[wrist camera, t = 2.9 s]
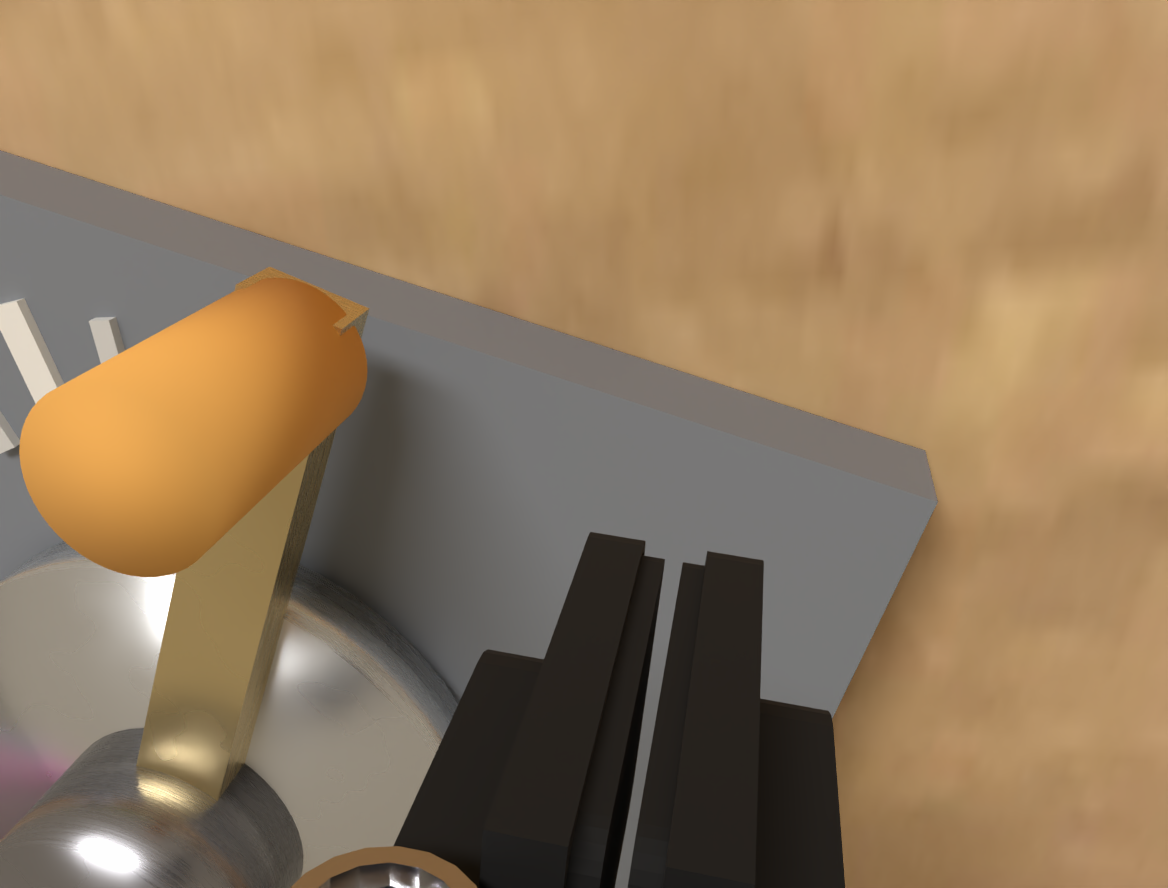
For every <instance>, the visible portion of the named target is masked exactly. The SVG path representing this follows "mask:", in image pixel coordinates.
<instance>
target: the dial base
mask: <svg viewBox="0 0 1168 888" xmlns="http://www.w3.org/2000/svg"><path fill="white" fill-rule="evenodd" d="M268 267H272V268H274V269H277V270H279V271H281V272H284V273H286V274H289V275H291V276H293V277H296V278H298V279H300V280H303V281H305V282H308V283H310V284H312V285H315V286H317V287H320V288H322V289H324V290H327V291H329V292H331V293H334V294H336V295H339V296H341V297H343V298H346V299H348V300H351V301H353V302H355V303H358V304H360V305H362V306H365V307H367V308H369V312H368V316H367V319H366V323H365V326H364V330H363V334H362V337H361V340H362V343H363V346H364V349H365V354H366V359H367V381H366V386H365V390H364V393H363V396H362V399H361V400H360V402H359V404H358V406H357V407H356V409H355V410H354V411H353V412H352V414H351V415H350V416H349V417H347V418H346V419H345V420H344V421H343V422H342V423H341V424H340V425H339V426H338V427H337V429H336V432H335V436H334V439H333V443H332V447H331V450H330V454H329V458H328V461H327V465H326V469H325V472H324V476H323V480H322V483H321V487H320V490H319V494H318V498H317V501H316V505H315V509H314V512H313V516H312V520H311V523H310V527H309V531H308V534H307V538H306V541H305V545H304V549H303V552H302V556H301V560H300V563H299V564H300V565H302V566H304V567H306V568H308V569H310V570H312V571H314V572H316V573H318V574H320V575H322V576H323V577H325V578H326V579H328V580H330V581H331V582H333V583H334V584H336V585H338V586H339V587H341V588H342V589H344V590H346V591H347V592H349V593H350V594H352V595H354V596H355V597H357V598H358V599H359V600H360V601H362V602H363V603H364V604H366V605H367V606H368V607H369V608H371V609H372V610H373V611H375V612H376V613H377V614H378V615H380V616H381V617H382V618H384V619H385V620H386V621H387V622H389V623H390V624H391V625H392V626H393V627H394V628H395V629H396V630H397V631H398V632H399V633H400V634H401V635H402V636H403V637H404V638H405V639H406V640H408V641H409V642H410V643H411V644H412V645H413V646H414V647H415V648H416V649H417V650H418V651H419V652H420V653H421V655H422V656H423V657H424V658H425V659H426V661H427V662H428V663H429V664H430V665H431V667H432V668H433V669H434V670H435V671H436V673H437V674H438V675H439V676H440V677H441V679H442V680H443V681H444V682H445V684H446V685H447V687H448V688H449V690H450V691H451V693H452V694H453V696H454V697H455V699H456V701H457V702H458V704H459V701H460V699H461V697H462V695H463V693H464V691H465V688H466V686H467V684H468V682H469V680H470V677H471V675H472V673H473V671H474V669H475V667H476V664H477V662H478V660H479V659H480V657H481V655H482V653H483V652H484V651H486V650H487V649H489V650H495V651H500V652H506V653H512V654H517V655H523V656H528V657H534V658H539V659H544V658H545V655H546V652H547V649H548V647H549V644H550V641H551V638H552V635H553V633H554V630H555V627H556V624H557V622H558V619H559V616H560V613H561V610H562V608H563V605H564V602H565V599H566V596H567V594H568V591H569V588H570V585H571V582H572V580H573V577H574V574H575V571H576V568H577V566H578V563H579V560H580V557H581V555H582V552H583V549H584V546H585V543H586V541H587V538H588V535H589V533H590V532H595V533H601V534H607V535H613V536H619V537H625V538H631V539H637V540H644V541H645V543H646V545H645V555H644V556H650V557H656V558H662V559H665V564H664V572H663V579H662V586H661V593H660V600H659V607H658V615H657V622H656V629H655V636H654V643H653V650H652V657H651V664H650V671H649V678H648V685H647V692H646V699H645V706H644V713H643V721H642V728H641V735H640V742H639V749H638V756H637V763H636V770H635V777H634V784H633V790H632V796H631V802H630V808H629V814H628V819H627V825H626V830H625V835H624V841H623V846H622V852H621V857H620V862H619V868H618V873H617V879H616V884H615V888H628V881H629V875H630V868H631V862H632V856H633V849H634V843H635V837H636V831H637V825H638V819H639V814H640V808H641V802H642V796H643V790H644V785H645V779H646V773H647V767H648V761H649V756H650V750H651V744H652V738H653V732H654V727H655V721H656V715H657V709H658V703H659V698H660V692H661V686H662V680H663V674H664V668H665V663H666V657H667V651H668V645H669V639H670V634H671V628H672V622H673V616H674V610H675V605H676V599H677V593H678V587H679V581H680V576H681V570H682V564H683V562H686V563H692V564H698V565H704V566H705V561H706V555H707V551H710V552H716V553H723V554H729V555H735V556H741V557H747V558H753V559H759V560H763V561H764V578H763V615H762V652H761V688H760V699H766V700H772V701H777V702H783V703H788V704H794V705H799V706H805V707H810V708H816V709H821V710H827V711H829V712H830V714H831V716H832V718H833V716H834V714H835V712H836V710H837V708H838V706H839V704H840V702H841V700H842V697H843V695H844V693H845V691H846V689H847V687H848V685H849V683H850V681H851V679H852V677H853V675H854V673H855V671H856V669H857V667H858V665H859V663H860V661H861V658H862V656H863V654H864V652H865V650H866V648H867V646H868V644H869V642H870V640H871V638H872V636H873V634H874V632H875V630H876V628H877V626H878V624H879V622H880V619H881V617H882V615H883V613H884V611H885V609H886V607H887V605H888V603H889V601H890V599H891V597H892V595H893V593H894V591H895V589H896V587H897V585H898V583H899V580H900V578H901V576H902V574H903V572H904V570H905V568H906V566H907V564H908V562H909V560H910V558H911V556H912V554H913V552H914V550H915V548H916V546H917V544H918V541H919V539H920V537H921V535H922V533H923V531H924V529H925V527H926V525H927V523H928V521H929V519H930V517H931V515H932V513H933V511H934V509H935V507H936V505H937V502H938V501H937V497H936V493H935V489H934V484H933V480H932V476H931V472H930V468H929V464H928V460H927V456H926V452H925V450H921V449H918V448H915V447H912V446H909V445H906V444H903V443H900V442H897V441H894V440H891V439H888V438H885V437H881V436H878V435H875V434H872V433H869V432H866V431H863V430H860V429H857V428H854V427H851V426H848V425H844V424H841V423H838V422H835V421H832V420H829V419H826V418H823V417H820V416H817V415H814V414H811V413H808V412H804V411H801V410H798V409H795V408H792V407H789V406H786V405H783V404H780V403H777V402H774V401H771V400H767V399H764V398H761V397H758V396H755V395H752V394H749V393H746V392H743V391H740V390H737V389H734V388H731V387H727V386H724V385H721V384H718V383H715V382H712V381H709V380H706V379H703V378H700V377H697V376H694V375H690V374H687V373H684V372H681V371H678V370H675V369H672V368H669V367H666V366H663V365H660V364H657V363H654V362H650V361H647V360H644V359H641V358H638V357H635V356H632V355H629V354H626V353H623V352H620V351H617V350H613V349H610V348H607V347H604V346H601V345H598V344H595V343H592V342H589V341H586V340H583V339H580V338H577V337H573V336H570V335H567V334H564V333H561V332H558V331H555V330H552V329H549V328H546V327H543V326H540V325H536V324H533V323H530V322H527V321H524V320H521V319H518V318H515V317H512V316H509V315H506V314H503V313H500V312H496V311H493V310H490V309H487V308H484V307H481V306H478V305H475V304H472V303H469V302H466V301H463V300H459V299H456V298H453V297H450V296H447V295H444V294H441V293H438V292H435V291H432V290H429V289H426V288H423V287H419V286H416V285H413V284H410V283H407V282H404V281H401V280H398V279H395V278H392V277H389V276H386V275H382V274H379V273H376V272H373V271H370V270H367V269H364V268H361V267H358V266H355V265H352V264H349V263H346V262H342V261H339V260H336V259H333V258H330V257H327V256H324V255H321V254H318V253H315V252H312V251H309V250H305V249H302V248H299V247H296V246H293V245H290V244H287V243H284V242H281V241H278V240H275V239H272V238H269V237H265V236H262V235H259V234H256V233H253V232H250V231H247V230H244V229H241V228H238V227H235V226H232V225H228V224H225V223H222V222H219V221H216V220H213V219H210V218H207V217H204V216H201V215H198V214H195V213H192V212H188V211H185V210H182V209H179V208H176V207H173V206H170V205H167V204H164V203H161V202H158V201H155V200H152V199H148V198H145V197H142V196H139V195H136V194H133V193H130V192H127V191H124V190H121V189H118V188H115V187H111V186H108V185H105V184H102V183H99V182H96V181H93V180H90V179H87V178H84V177H81V176H78V175H75V174H71V173H68V172H65V171H62V170H59V169H56V168H53V167H50V166H47V165H44V164H41V163H38V162H34V161H31V160H28V159H25V158H22V157H19V156H16V155H13V154H10V153H7V152H4V151H1V150H0V581H1V580H2V579H4V578H5V577H6V576H8V575H9V574H10V573H12V572H13V571H14V570H16V569H17V568H19V567H20V566H21V565H23V564H24V563H25V562H27V561H28V560H29V559H31V558H32V557H33V556H35V555H36V554H38V553H40V552H42V551H44V550H46V549H48V548H50V547H53V546H55V545H57V544H59V543H61V542H63V540H62V539H61V538H60V537H59V536H58V535H57V534H56V533H55V532H54V530H53V529H52V528H51V527H50V526H49V525H48V523H47V522H46V521H45V519H44V518H43V517H42V515H41V514H40V512H39V511H38V509H37V507H36V506H35V504H34V502H33V500H32V498H31V496H30V494H29V492H28V490H27V487H26V484H25V481H24V478H23V474H22V469H21V465H20V454H19V449H20V437H21V432H22V428H23V425H24V423H25V420H26V418H27V416H28V414H29V412H30V411H31V409H32V408H33V407H34V405H35V404H36V403H37V402H38V401H39V400H40V399H41V398H42V397H43V396H45V395H46V394H47V393H49V392H50V391H52V390H54V389H56V388H57V387H59V386H61V385H63V384H65V383H67V382H68V381H70V380H72V379H74V378H76V377H78V376H79V375H81V374H83V373H85V372H87V371H89V370H90V369H92V368H94V367H96V366H98V365H100V364H101V363H103V362H105V361H107V360H109V359H111V358H112V357H114V356H116V355H118V354H120V353H122V352H123V351H125V350H127V349H129V348H131V347H133V346H134V345H136V344H138V343H140V342H142V341H144V340H145V339H147V338H149V337H151V336H153V335H155V334H156V333H158V332H160V331H162V330H164V329H166V328H167V327H169V326H171V325H173V324H175V323H177V322H178V321H180V320H182V319H184V318H186V317H188V316H189V315H191V314H193V313H195V312H197V311H199V310H200V309H202V308H204V307H206V306H208V305H210V304H211V303H213V302H215V301H217V300H219V299H221V298H222V297H224V296H226V295H228V294H230V293H232V292H233V291H235V286H236V284H238V283H240V282H242V281H243V280H245V279H247V278H249V277H251V276H253V275H255V274H256V273H258V272H260V271H262V270H264V269H266V268H268Z"/></svg>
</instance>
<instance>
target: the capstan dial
mask: <svg viewBox="0 0 1168 888" xmlns="http://www.w3.org/2000/svg"><path fill="white" fill-rule="evenodd" d="M368 312H369V308H367V307H365V306H362V305H360V304H358V303H355V302H353V301H351V300H348V299H346V298H343V297H341V296H339V295H336V294H334V293H331V292H329V291H327V290H324V289H322V288H320V287H317V286H315V285H312V284H310V283H308V282H305V281H303V280H300V279H298V278H296V277H293V276H291V275H289V274H286V273H284V272H281V271H279V270H277V269H274V268H272V267H268V268H266V269H264V270H262V271H260V272H258V273H256V274H255V275H253V276H251V277H249V278H247V279H245V280H243V281H242V282H240V283H238V284H236V286H235V291H233V292H232V293H230V294H228V295H226V296H224V297H222V298H221V299H219V300H217V301H215V302H213V303H211V304H210V305H208V306H206V307H204V308H202V309H200V310H199V311H197V312H195V313H193V314H191V315H189V316H188V317H186V318H184V319H182V320H180V321H178V322H177V323H175V324H173V325H171V326H169V327H167V328H166V329H164V330H162V331H160V332H158V333H156V334H155V335H153V336H151V337H149V338H147V339H145V340H144V341H142V342H140V343H138V344H136V345H134V346H133V347H131V348H129V349H127V350H125V351H123V352H122V353H120V354H118V355H116V356H114V357H112V358H111V359H109V360H107V361H105V362H103V363H101V364H100V365H98V366H96V367H94V368H92V369H90V370H89V371H87V372H85V373H83V374H81V375H79V376H78V377H76V378H74V379H72V380H70V381H68V382H67V383H65V384H63V385H61V386H59V387H57V388H56V389H54V390H52V391H50V392H49V393H47V394H46V395H45V396H43V397H42V398H41V399H40V400H39V401H38V402H37V403H36V404H35V405H34V407H33V408H32V409H31V411H30V412H29V414H28V416H27V418H26V420H25V423H24V425H23V428H22V432H21V437H20V449H19V454H20V465H21V469H22V474H23V478H24V481H25V484H26V487H27V490H28V492H29V494H30V496H31V498H32V500H33V502H34V504H35V506H36V507H37V509H38V511H39V512H40V514H41V515H42V517H43V518H44V519H45V521H46V522H47V523H48V525H49V526H50V527H51V528H52V529H53V530H54V532H55V533H56V534H57V535H58V536H59V537H60V538H61V539H62V540H63V542H61V543H59V544H57V545H55V546H53V547H50V548H48V549H46V550H44V551H42V552H40V553H38V554H36V555H35V556H33V557H32V558H31V559H29V560H28V561H27V562H25V563H24V564H23V565H21V566H20V567H19V568H17V569H16V570H14V571H13V572H12V573H10V574H9V575H8V576H6V577H5V578H4V579H2V580H1V581H0V888H290V887H291V886H293V885H294V884H295V883H296V882H297V881H298V880H299V879H300V878H301V877H302V876H303V875H304V874H305V873H306V872H308V871H310V870H312V869H313V868H315V867H317V866H319V865H320V864H322V863H324V862H326V861H327V860H329V859H331V858H333V857H335V856H338V855H342V854H345V853H349V852H352V851H356V850H359V849H363V848H369V847H391V846H394V844H395V841H396V839H397V837H398V835H399V833H400V830H401V828H402V826H403V824H404V822H405V819H406V817H407V815H408V813H409V811H410V809H411V806H412V804H413V802H414V800H415V798H416V795H417V793H418V791H419V789H420V787H421V785H422V782H423V780H424V778H425V776H426V774H427V771H428V769H429V767H430V765H431V763H432V760H433V758H434V756H435V754H436V752H437V750H438V747H439V745H440V743H441V741H442V739H443V736H444V734H445V732H446V730H447V728H448V726H449V723H450V721H451V719H452V717H453V715H454V712H455V710H456V708H457V706H458V702H457V701H456V699H455V697H454V696H453V694H452V693H451V691H450V690H449V688H448V687H447V685H446V684H445V682H444V681H443V680H442V679H441V677H440V676H439V675H438V674H437V673H436V671H435V670H434V669H433V668H432V667H431V665H430V664H429V663H428V662H427V661H426V659H425V658H424V657H423V656H422V655H421V653H420V652H419V651H418V650H417V649H416V648H415V647H414V646H413V645H412V644H411V643H410V642H409V641H408V640H406V639H405V638H404V637H403V636H402V635H401V634H400V633H399V632H398V631H397V630H396V629H395V628H394V627H393V626H392V625H391V624H390V623H389V622H387V621H386V620H385V619H384V618H382V617H381V616H380V615H378V614H377V613H376V612H375V611H373V610H372V609H371V608H369V607H368V606H367V605H366V604H364V603H363V602H362V601H360V600H359V599H358V598H357V597H355V596H354V595H352V594H350V593H349V592H347V591H346V590H344V589H342V588H341V587H339V586H338V585H336V584H334V583H333V582H331V581H330V580H328V579H326V578H325V577H323V576H322V575H320V574H318V573H316V572H314V571H312V570H310V569H308V568H306V567H304V566H302V565H300V564H299V563H300V560H301V556H302V552H303V549H304V545H305V541H306V538H307V534H308V531H309V527H310V523H311V520H312V516H313V512H314V509H315V505H316V501H317V498H318V494H319V490H320V487H321V483H322V480H323V476H324V472H325V469H326V465H327V461H328V458H329V454H330V450H331V447H332V443H333V439H334V436H335V432H336V429H337V427H338V426H339V425H340V424H341V423H342V422H343V421H344V420H345V419H346V418H347V417H349V416H350V415H351V414H352V412H353V411H354V410H355V409H356V407H357V406H358V404H359V402H360V400H361V399H362V396H363V393H364V390H365V386H366V381H367V359H366V354H365V349H364V346H363V343H362V340H361V337H362V334H363V330H364V326H365V323H366V319H367V316H368Z"/></svg>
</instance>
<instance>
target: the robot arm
mask: <svg viewBox="0 0 1168 888" xmlns="http://www.w3.org/2000/svg"><path fill="white" fill-rule="evenodd" d="M645 545H646V543H645V541H644V540H637V539H631V538H625V537H619V536H613V535H607V534H601V533H595V532H590V533H589V535H588V538H587V541H586V543H585V546H584V549H583V552H582V555H581V557H580V560H579V563H578V566H577V568H576V571H575V574H574V577H573V580H572V582H571V585H570V588H569V591H568V594H567V596H566V599H565V602H564V605H563V608H562V610H561V613H560V616H559V619H558V622H557V624H556V627H555V630H554V633H553V635H552V638H551V641H550V644H549V647H548V649H547V652H546V655H545V658H544V659H539V658H534V657H528V656H523V655H517V654H512V653H506V652H500V651H495V650H489V649H487V650H486V651H484V652H483V653H482V655H481V657H480V659H479V660H478V662H477V664H476V667H475V669H474V671H473V673H472V675H471V677H470V680H469V682H468V684H467V686H466V688H465V691H464V693H463V695H462V697H461V699H460V701H459V704H458V706H457V708H456V710H455V712H454V715H453V717H452V719H451V721H450V723H449V726H448V728H447V730H446V732H445V734H444V736H443V739H442V741H441V743H440V745H439V747H438V750H437V752H436V754H435V756H434V758H433V760H432V763H431V765H430V767H429V769H428V771H427V774H426V776H425V778H424V780H423V782H422V785H421V787H420V789H419V791H418V793H417V795H416V798H415V800H414V802H413V804H412V806H411V809H410V811H409V813H408V815H407V817H406V819H405V822H404V824H403V826H402V828H401V830H400V833H399V835H398V837H397V839H396V841H395V844H394V846H391V847H369V848H363V849H359V850H356V851H352V852H349V853H345V854H342V855H338V856H335V857H333V858H331V859H329V860H327V861H326V862H324V863H322V864H320V865H319V866H317V867H315V868H313V869H312V870H310V871H308V872H306V873H305V874H304V875H303V876H302V877H301V878H300V879H299V880H298V881H297V882H296V883H295V884H294V885H293V886H291V887H290V888H615V884H616V879H617V873H618V868H619V862H620V857H621V852H622V846H623V841H624V835H625V830H626V825H627V819H628V814H629V808H630V802H631V796H632V790H633V784H634V777H635V770H636V763H637V756H638V749H639V742H640V735H641V728H642V721H643V713H644V706H645V699H646V692H647V685H648V678H649V671H650V664H651V657H652V650H653V643H654V636H655V629H656V622H657V615H658V607H659V600H660V593H661V586H662V579H663V572H664V564H665V559H662V558H656V557H650V556H644V555H645ZM763 578H764V561H763V560H759V559H753V558H747V557H741V556H735V555H729V554H723V553H716V552H710V551H707V555H706V561H705V566H704V565H698V564H692V563H686V562H683V564H682V570H681V576H680V581H679V587H678V593H677V599H676V605H675V610H674V616H673V622H672V628H671V634H670V639H669V645H668V651H667V657H666V663H665V668H664V674H663V680H662V686H661V692H660V698H659V703H658V709H657V715H656V721H655V727H654V732H653V738H652V744H651V750H650V756H649V761H648V767H647V773H646V779H645V785H644V790H643V796H642V802H641V808H640V814H639V819H638V825H637V831H636V837H635V843H634V849H633V856H632V862H631V868H630V875H629V881H628V888H845V881H844V867H843V854H842V840H841V827H840V813H839V800H838V786H837V773H836V760H835V746H834V733H833V723H832V716H831V714H830V712H829V711H827V710H821V709H816V708H810V707H805V706H799V705H794V704H788V703H783V702H777V701H772V700H766V699H760V688H761V652H762V615H763Z"/></svg>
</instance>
